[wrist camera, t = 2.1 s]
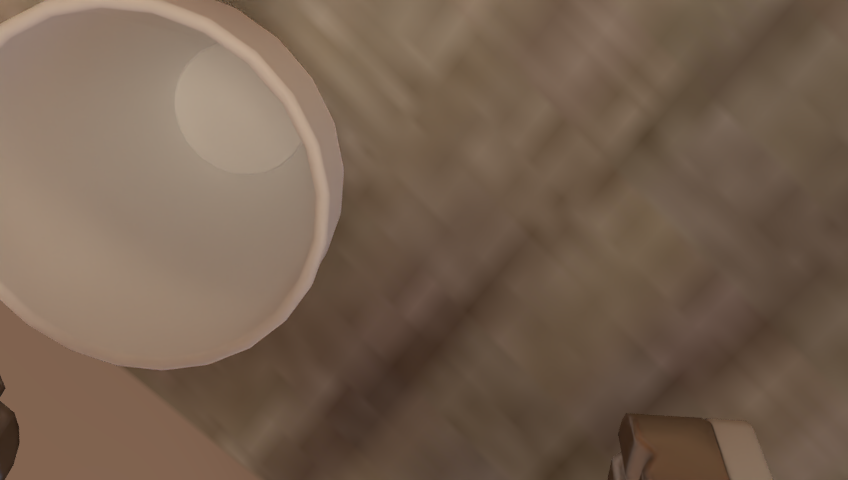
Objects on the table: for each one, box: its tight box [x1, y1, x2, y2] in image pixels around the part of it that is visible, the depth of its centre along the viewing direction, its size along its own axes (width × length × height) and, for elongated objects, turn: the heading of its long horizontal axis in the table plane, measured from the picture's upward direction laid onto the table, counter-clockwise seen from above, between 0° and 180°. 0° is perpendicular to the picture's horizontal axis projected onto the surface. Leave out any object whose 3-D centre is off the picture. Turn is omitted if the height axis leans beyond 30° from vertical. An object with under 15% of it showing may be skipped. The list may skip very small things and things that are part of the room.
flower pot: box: [0, 0, 344, 370], centre depth 30 cm, size 12×12×14 cm
